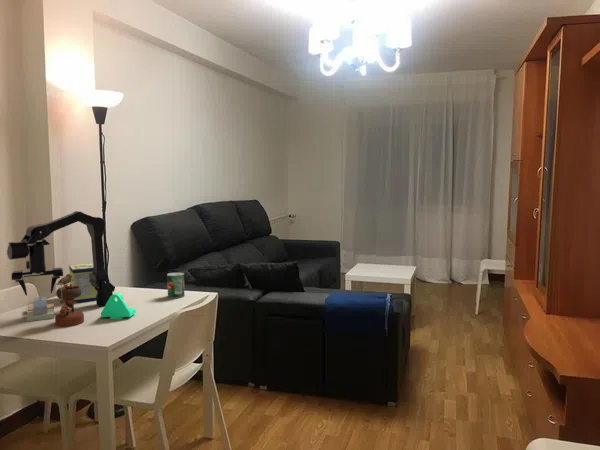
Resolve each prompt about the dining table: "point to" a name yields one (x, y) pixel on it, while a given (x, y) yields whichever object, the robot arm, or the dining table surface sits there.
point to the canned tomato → (175, 285)
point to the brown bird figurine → (68, 304)
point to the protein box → (83, 281)
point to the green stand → (40, 317)
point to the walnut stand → (49, 306)
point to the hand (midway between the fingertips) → (39, 294)
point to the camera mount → (117, 308)
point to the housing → (40, 306)
